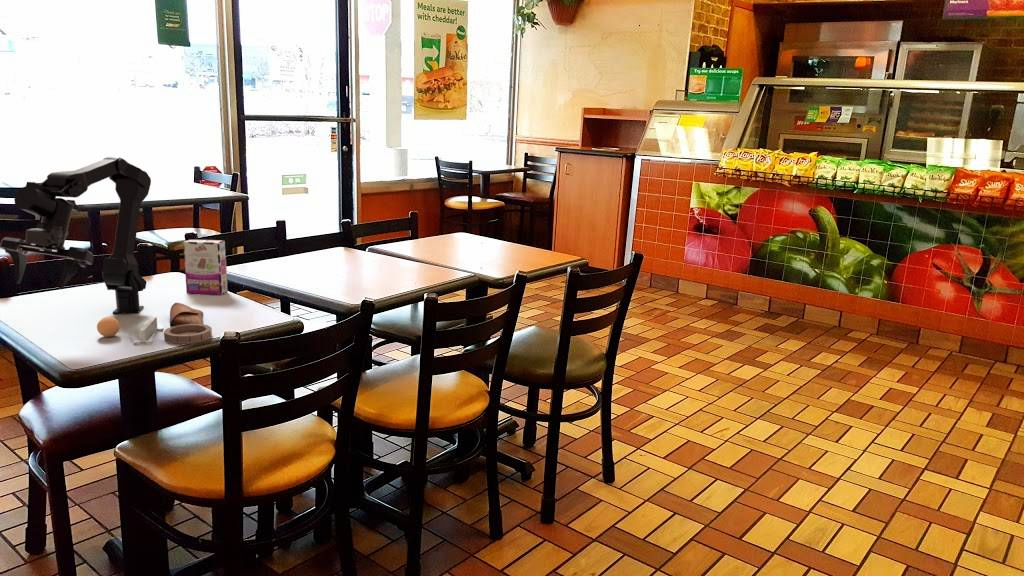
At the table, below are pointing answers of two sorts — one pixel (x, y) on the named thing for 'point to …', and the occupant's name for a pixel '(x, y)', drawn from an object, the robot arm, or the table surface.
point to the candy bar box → (205, 267)
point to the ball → (108, 326)
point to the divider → (148, 331)
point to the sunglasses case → (184, 315)
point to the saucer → (187, 334)
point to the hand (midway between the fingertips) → (39, 286)
